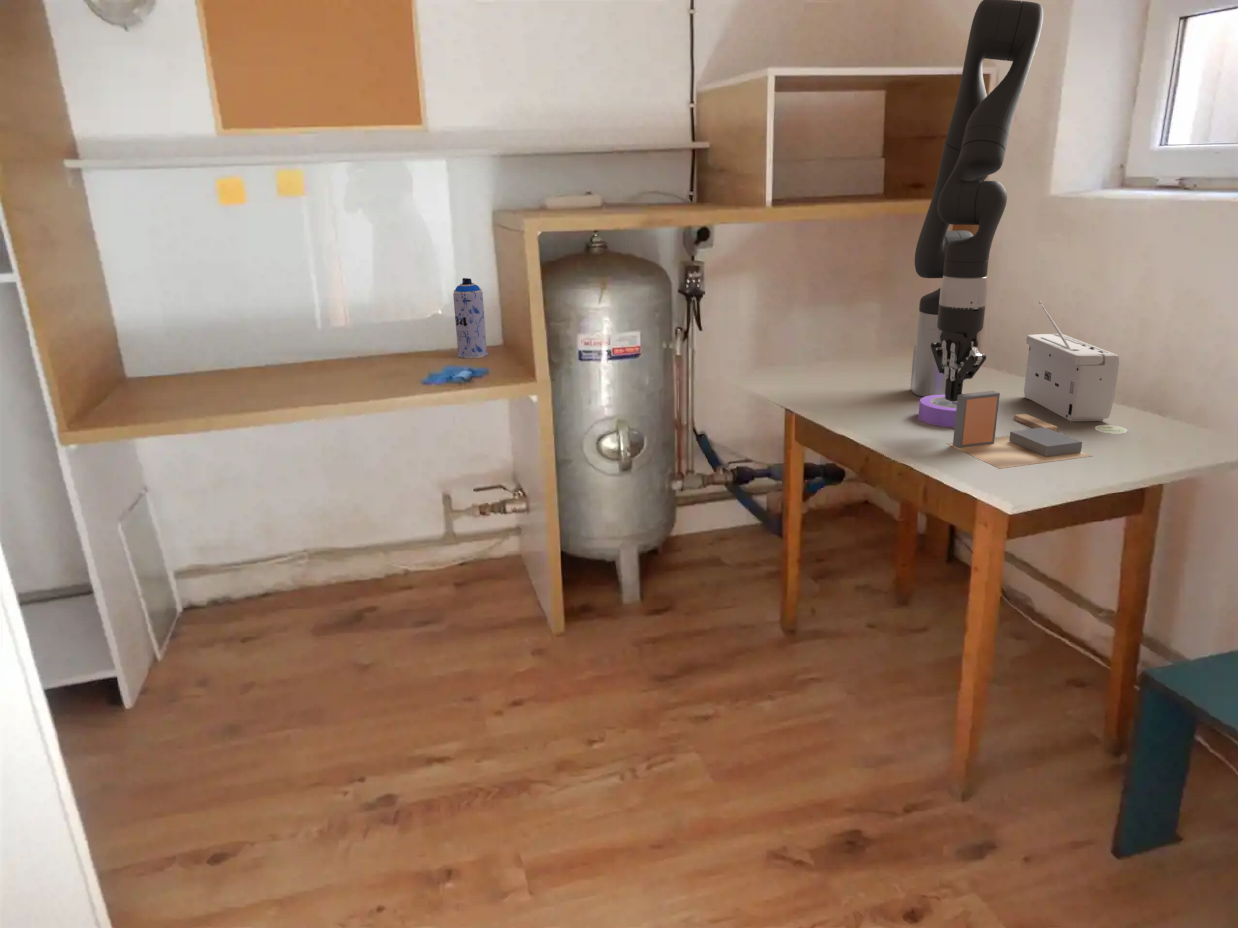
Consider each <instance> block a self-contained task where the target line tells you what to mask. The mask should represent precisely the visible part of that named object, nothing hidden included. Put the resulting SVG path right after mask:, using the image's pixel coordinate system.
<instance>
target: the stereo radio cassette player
mask: <svg viewBox="0 0 1238 928" xmlns="http://www.w3.org/2000/svg"><path fill="white" fill-rule="evenodd" d="M1042 303H1043V302H1042V301H1041V300H1039V301H1038V304H1039V305H1041V307H1042V309H1043V310H1044V312H1045V314H1046V316H1047V317H1048V319H1049V321H1050V322H1051V324H1052V326H1053V328H1054V329H1055V331H1056V332H1057V333H1040V334H1039V333H1038V334H1037V333H1036V334H1028V335H1027V336H1026V339H1025V344H1026V345H1028V347H1029V348H1028V354H1027V355H1028V356H1027V363H1026V372H1025V378H1024V379H1025V380H1024V388H1023V392H1024V393H1023V394H1024V398H1026V399H1027V400H1030V401H1033V402H1035V403H1037V404H1038V405H1040V406H1042V407H1044V408H1045V409H1047V410H1049V411H1051V412H1053V413H1055V414H1056V415H1058V416H1060V417H1062V418H1064V419H1065V420H1067V421H1069V422H1103V421H1104V420H1106V419H1109V418H1110V415H1111V412H1112V408H1113V403H1114V400H1115V394H1116V388H1117V382H1118V374H1119V369H1120V368H1119V367H1120V366H1119V365H1120V358H1119V355H1118V354H1117V353H1113V352H1111V351H1108V350H1105V349H1103V348H1100V347H1098V346H1095V345H1093V344H1090V343H1087V342H1084V341H1082V340H1080V339H1076V338H1073V337H1071V336H1069V335H1066V334H1063V333H1062V331H1061V330H1060V328H1059V327H1058V326H1057V324H1056V322H1055V321H1054V320H1053V318H1052V316H1051V315H1050V314H1049V312H1048V311H1047V310H1046V308H1045V306H1044V305H1043V304H1042Z"/></svg>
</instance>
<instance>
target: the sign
mask: <svg viewBox="0 0 1238 928" xmlns="http://www.w3.org/2000/svg"><path fill="white" fill-rule="evenodd" d="M1094 430H1096V431H1098V432H1100V433H1105V434H1112V435H1123V434H1127V433H1128V429H1127V428H1125V427H1122V426H1117V425H1114V424H1113V425H1112V424H1111V425H1110V424H1101V425H1100V424H1099V425H1096V426H1095V427H1094Z"/></svg>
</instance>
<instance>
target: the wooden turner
mask: <svg viewBox="0 0 1238 928" xmlns="http://www.w3.org/2000/svg"><path fill="white" fill-rule="evenodd" d="M1013 420H1014V421H1016V422H1018V423H1021V424H1024V425H1025V426H1028V427H1031V428H1032V429H1034V428H1042V427H1045V428H1048V429H1050V430H1053V431H1055V432H1058V426H1057V425H1054V424H1052V423H1050V422H1047V421H1044V420H1043V419H1039V418H1037V417H1034V416H1032V415H1029V414H1027V413H1019V414H1014V416H1013Z"/></svg>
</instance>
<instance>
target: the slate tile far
mask: <svg viewBox="0 0 1238 928" xmlns="http://www.w3.org/2000/svg"><path fill="white" fill-rule="evenodd" d="M1009 436H1010V439H1009V441H1010V442H1012V443H1014V444H1017V445H1019V446H1021V447H1024V448H1026V449H1029V450H1031V451H1033V452H1036V453H1038V454H1040V455H1043V456H1045V457H1048V456H1055V455H1063V454H1071V453H1078V452H1082V447H1083V441H1081V440H1078V439H1077V438H1073V437H1071V436H1068V435H1065V434H1063V433H1060V432H1058V431H1057V432H1055V431H1053V430H1050V429H1048V428H1045V427H1042V428H1027V429H1020V430H1011V431H1010V432H1009Z"/></svg>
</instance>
